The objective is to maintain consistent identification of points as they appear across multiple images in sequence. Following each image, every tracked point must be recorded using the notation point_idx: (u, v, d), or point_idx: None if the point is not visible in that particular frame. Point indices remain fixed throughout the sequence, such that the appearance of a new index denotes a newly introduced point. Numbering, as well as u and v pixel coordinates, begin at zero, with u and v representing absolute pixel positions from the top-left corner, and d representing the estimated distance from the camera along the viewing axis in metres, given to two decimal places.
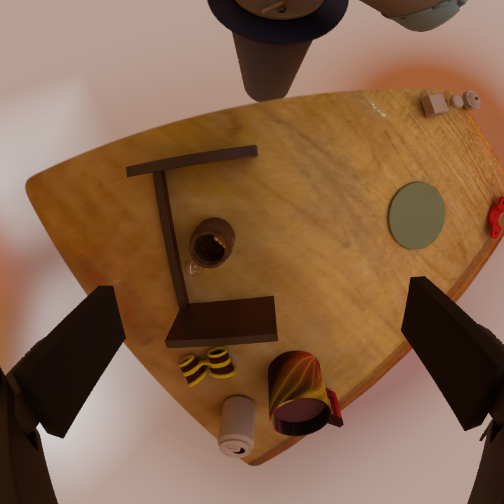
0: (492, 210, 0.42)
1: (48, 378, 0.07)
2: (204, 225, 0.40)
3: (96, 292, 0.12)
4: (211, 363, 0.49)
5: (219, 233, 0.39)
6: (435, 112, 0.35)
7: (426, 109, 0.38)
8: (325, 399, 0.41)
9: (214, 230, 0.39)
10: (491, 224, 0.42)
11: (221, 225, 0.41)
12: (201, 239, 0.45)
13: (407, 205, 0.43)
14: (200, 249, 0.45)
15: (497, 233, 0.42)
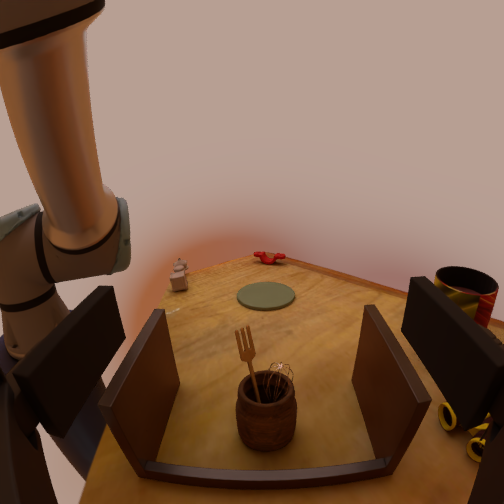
0: (264, 260, 0.75)
1: (48, 378, 0.07)
2: (236, 406, 0.26)
3: (96, 292, 0.12)
4: None
5: None
6: (183, 275, 0.60)
7: (180, 287, 0.61)
8: (437, 275, 0.36)
9: None
10: (274, 258, 0.73)
11: None
12: None
13: (255, 299, 0.56)
14: (280, 441, 0.25)
15: (281, 254, 0.75)
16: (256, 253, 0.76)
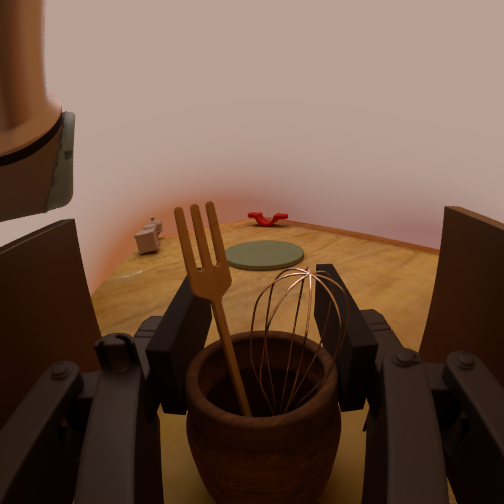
0: (261, 222, 0.58)
1: (179, 352, 0.09)
2: (187, 420, 0.10)
3: None
4: None
5: None
6: (152, 231, 0.44)
7: (149, 248, 0.45)
8: None
9: None
10: (274, 218, 0.57)
11: None
12: None
13: (248, 257, 0.40)
14: None
15: None
16: (251, 213, 0.60)
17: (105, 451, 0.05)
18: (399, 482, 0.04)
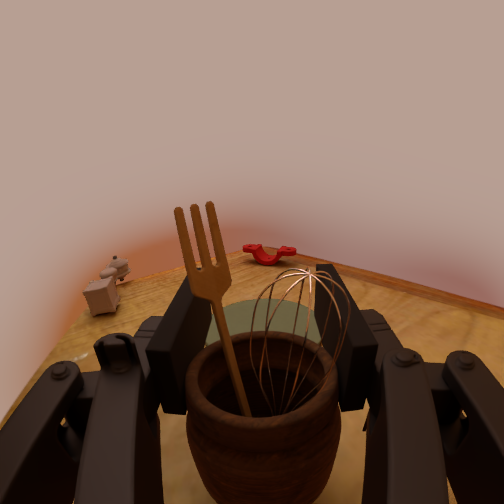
0: (261, 259, 0.44)
1: (179, 352, 0.09)
2: (186, 420, 0.10)
3: None
4: None
5: None
6: (105, 286, 0.29)
7: (104, 308, 0.30)
8: None
9: None
10: (278, 255, 0.43)
11: None
12: None
13: None
14: None
15: (290, 247, 0.44)
16: (247, 247, 0.45)
17: (105, 451, 0.05)
18: (399, 482, 0.04)
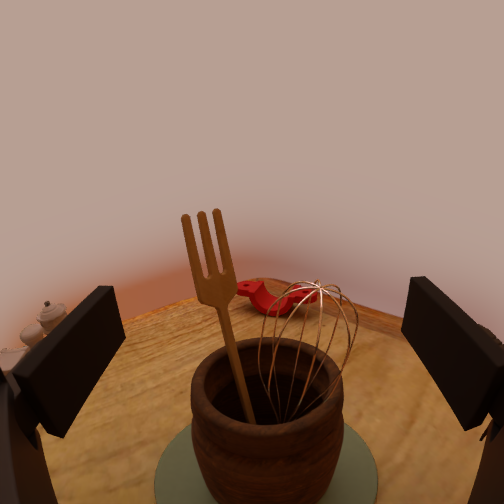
0: (263, 307, 0.28)
1: (48, 378, 0.07)
2: (192, 426, 0.10)
3: (96, 292, 0.12)
4: None
5: None
6: (11, 368, 0.14)
7: None
8: None
9: None
10: (289, 302, 0.27)
11: None
12: None
13: None
14: None
15: None
16: (241, 286, 0.29)
17: None
18: None
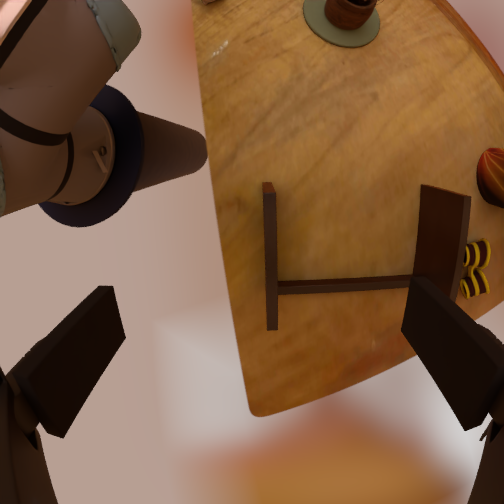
0: None
1: (48, 378, 0.07)
2: (331, 0, 0.26)
3: (96, 292, 0.12)
4: (473, 264, 0.38)
5: None
6: None
7: None
8: None
9: None
10: None
11: None
12: None
13: (331, 24, 0.31)
14: (358, 25, 0.30)
15: None
16: None
17: None
18: None
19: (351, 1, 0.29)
